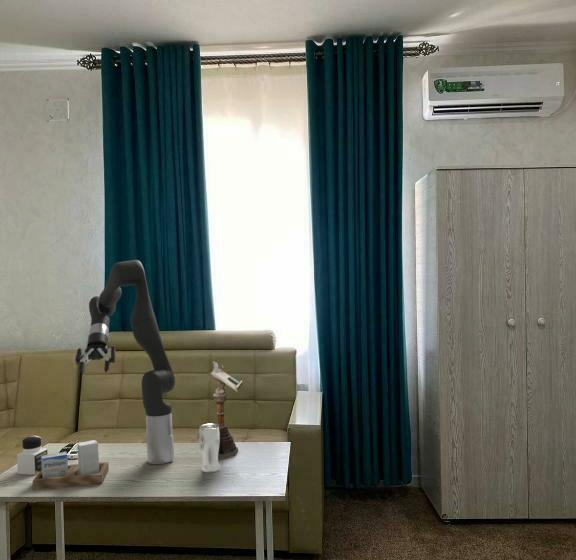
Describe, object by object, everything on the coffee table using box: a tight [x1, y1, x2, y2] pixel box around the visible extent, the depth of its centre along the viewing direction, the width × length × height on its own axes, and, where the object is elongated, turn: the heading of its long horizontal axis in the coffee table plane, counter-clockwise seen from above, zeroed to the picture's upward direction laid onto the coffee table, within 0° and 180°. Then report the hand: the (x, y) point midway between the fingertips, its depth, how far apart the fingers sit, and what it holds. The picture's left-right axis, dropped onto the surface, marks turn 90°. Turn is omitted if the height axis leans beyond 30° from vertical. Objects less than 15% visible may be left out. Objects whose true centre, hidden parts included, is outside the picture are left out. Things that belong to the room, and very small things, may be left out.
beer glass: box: [198, 423, 221, 474], centre depth 189 cm, size 7×7×15 cm
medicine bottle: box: [16, 435, 49, 476], centre depth 194 cm, size 7×7×12 cm
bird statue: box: [209, 361, 243, 460], centre depth 206 cm, size 17×13×35 cm
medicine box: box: [41, 451, 69, 478], centre depth 183 cm, size 8×4×9 cm, turn 117°
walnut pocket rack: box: [32, 461, 110, 491], centre depth 184 cm, size 21×12×3 cm, turn 99°
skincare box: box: [76, 439, 100, 475], centre depth 185 cm, size 6×4×12 cm
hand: (93, 371), depth 206 cm, fingers open, 8 cm apart
